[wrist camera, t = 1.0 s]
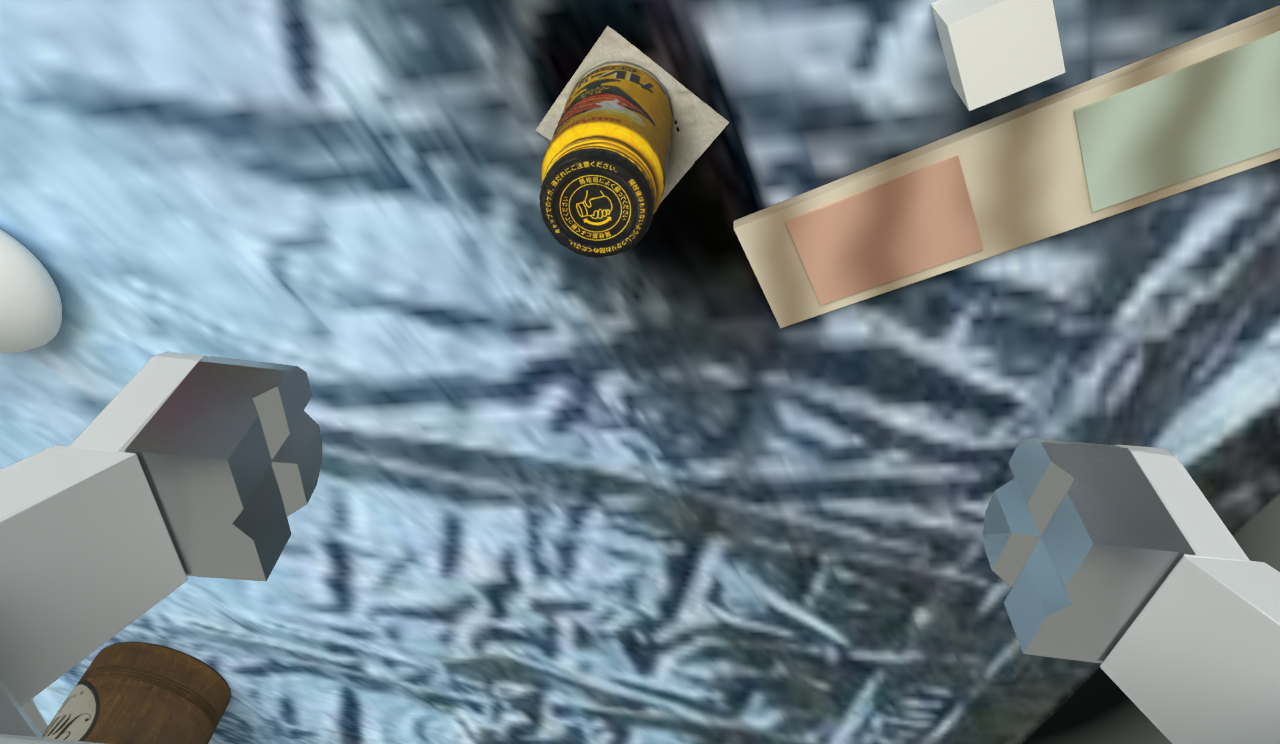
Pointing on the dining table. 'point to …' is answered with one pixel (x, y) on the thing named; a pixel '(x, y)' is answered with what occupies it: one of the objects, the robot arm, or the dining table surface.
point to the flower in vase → (25, 299)
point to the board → (1026, 173)
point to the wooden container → (142, 699)
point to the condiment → (617, 147)
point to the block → (997, 46)
